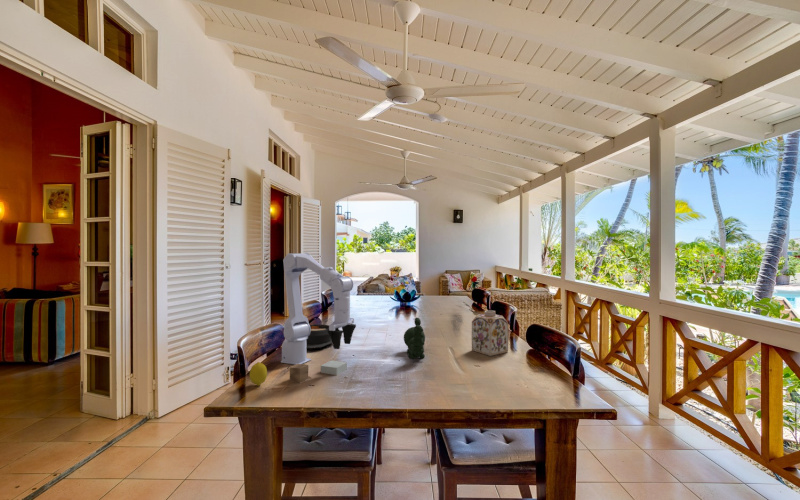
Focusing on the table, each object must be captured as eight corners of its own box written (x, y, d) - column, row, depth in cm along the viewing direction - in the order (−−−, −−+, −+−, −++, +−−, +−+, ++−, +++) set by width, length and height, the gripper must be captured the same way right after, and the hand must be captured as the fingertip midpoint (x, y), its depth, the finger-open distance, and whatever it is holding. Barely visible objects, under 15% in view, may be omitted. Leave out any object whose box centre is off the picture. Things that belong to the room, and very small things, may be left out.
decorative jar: (509, 352, 171) (509, 311, 171) (490, 356, 165) (490, 314, 165) (488, 346, 181) (488, 308, 181) (470, 350, 175) (470, 310, 174)
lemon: (250, 389, 128) (250, 365, 127) (248, 384, 132) (248, 361, 132) (268, 387, 130) (268, 363, 130) (265, 381, 135) (265, 358, 135)
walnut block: (289, 381, 136) (289, 367, 136) (297, 377, 140) (297, 363, 140) (300, 383, 134) (300, 368, 134) (308, 379, 138) (308, 365, 138)
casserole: (303, 338, 197) (303, 321, 197) (340, 338, 197) (340, 322, 197) (287, 352, 172) (287, 333, 172) (329, 352, 172) (329, 333, 172)
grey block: (320, 373, 145) (320, 365, 145) (331, 368, 151) (331, 360, 151) (336, 376, 142) (336, 368, 142) (346, 370, 148) (346, 362, 148)
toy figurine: (430, 367, 156) (422, 345, 180) (430, 321, 154) (423, 305, 178) (406, 368, 155) (402, 346, 180) (406, 321, 153) (402, 306, 178)
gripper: (341, 313, 136) (341, 352, 136) (361, 307, 149) (361, 342, 149) (324, 312, 138) (324, 350, 139) (345, 306, 152) (345, 340, 152)
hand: (342, 346), depth 144 cm, fingers open, 7 cm apart
